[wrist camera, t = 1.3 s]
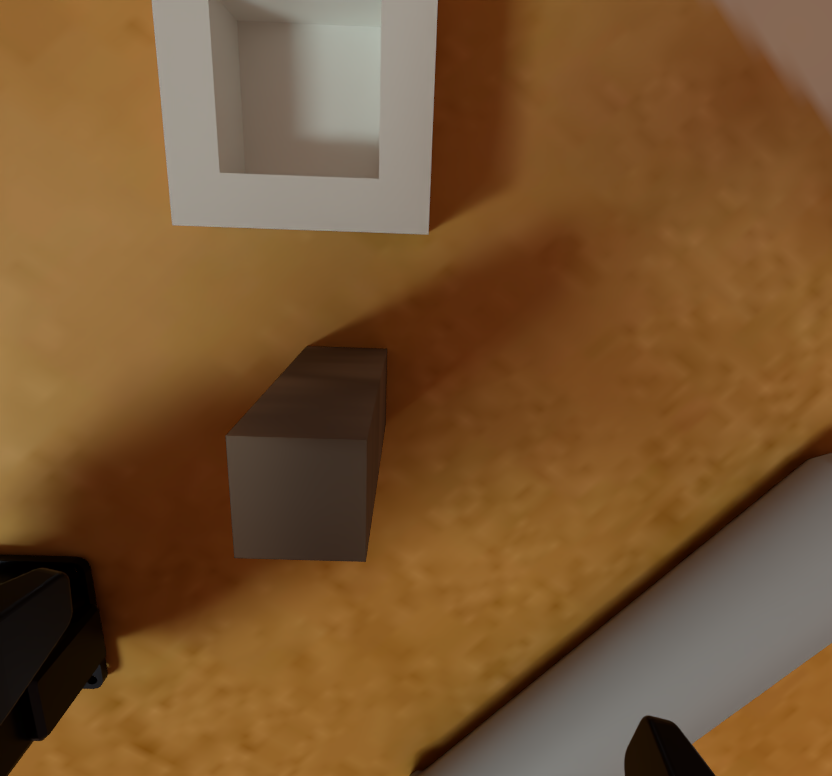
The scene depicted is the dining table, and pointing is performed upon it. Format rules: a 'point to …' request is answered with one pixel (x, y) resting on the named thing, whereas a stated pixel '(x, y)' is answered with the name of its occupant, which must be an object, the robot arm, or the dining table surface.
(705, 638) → the tube
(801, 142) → the dining table surface
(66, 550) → the dining table surface
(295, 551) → the dark brown wooden beam
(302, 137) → the white square frame
